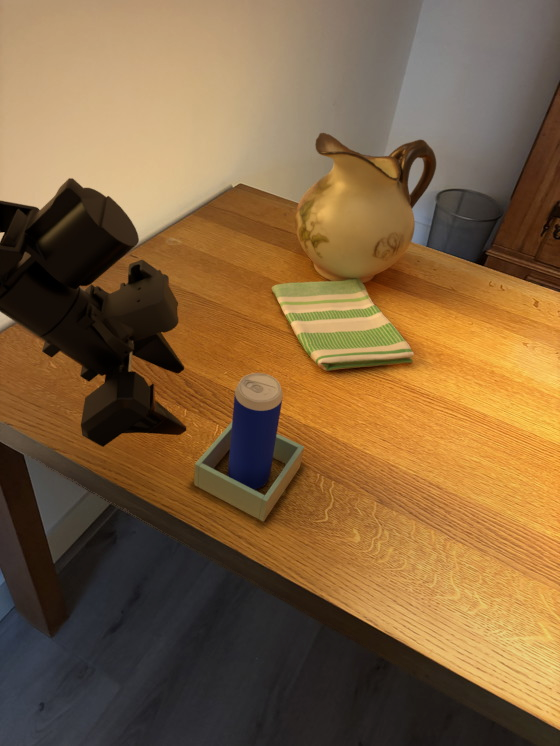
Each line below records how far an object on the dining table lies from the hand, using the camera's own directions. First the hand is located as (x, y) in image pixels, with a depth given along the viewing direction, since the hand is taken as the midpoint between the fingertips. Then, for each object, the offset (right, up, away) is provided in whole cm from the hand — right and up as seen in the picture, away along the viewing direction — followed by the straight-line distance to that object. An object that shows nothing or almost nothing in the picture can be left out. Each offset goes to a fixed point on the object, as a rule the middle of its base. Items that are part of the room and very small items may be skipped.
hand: (182, 399), depth 57 cm
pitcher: (+23, +24, +52) cm, 62 cm away
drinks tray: (+6, -10, +10) cm, 15 cm away
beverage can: (+6, -10, +10) cm, 16 cm away
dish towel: (+20, +11, +37) cm, 43 cm away
